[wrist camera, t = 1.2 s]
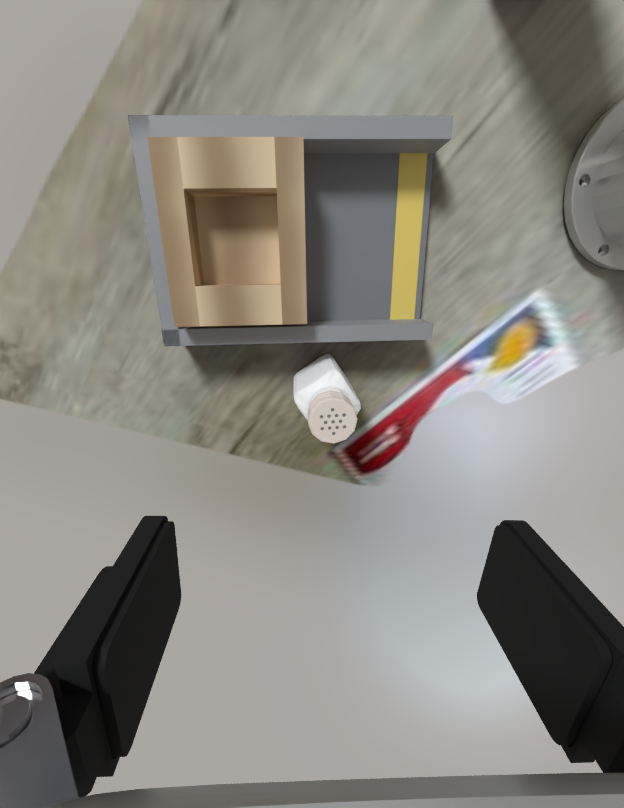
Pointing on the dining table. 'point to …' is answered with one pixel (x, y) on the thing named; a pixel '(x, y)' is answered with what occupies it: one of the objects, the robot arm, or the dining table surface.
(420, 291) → the tray
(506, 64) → the dining table surface
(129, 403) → the dining table surface
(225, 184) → the shaker cabinet door
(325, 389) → the salt shaker
